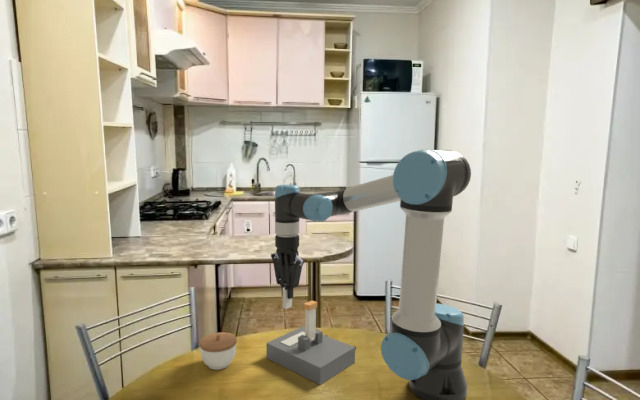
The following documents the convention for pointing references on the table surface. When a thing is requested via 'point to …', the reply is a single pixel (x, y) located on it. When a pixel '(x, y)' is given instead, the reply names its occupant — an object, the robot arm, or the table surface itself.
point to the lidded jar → (218, 349)
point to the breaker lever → (310, 319)
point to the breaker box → (311, 355)
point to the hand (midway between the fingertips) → (287, 307)
